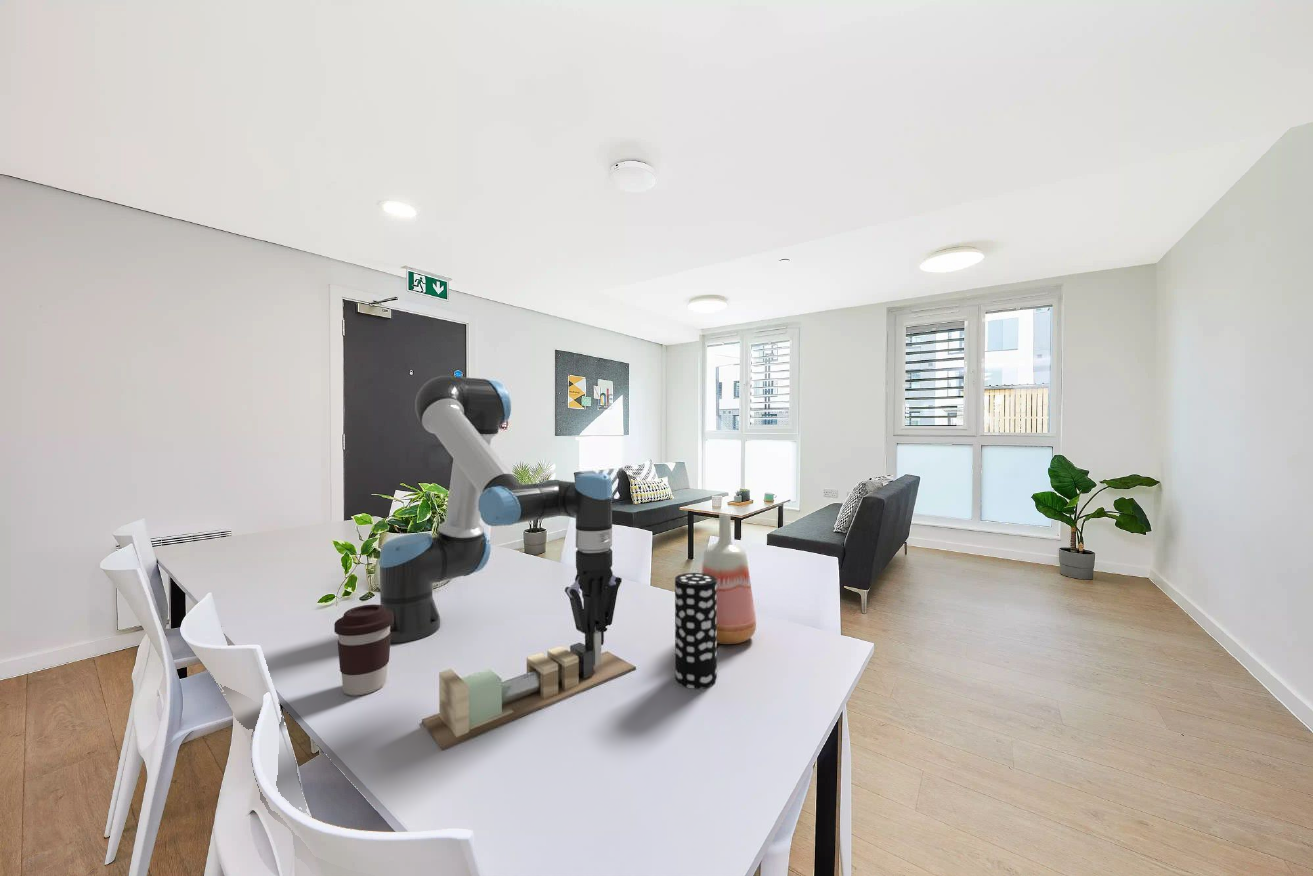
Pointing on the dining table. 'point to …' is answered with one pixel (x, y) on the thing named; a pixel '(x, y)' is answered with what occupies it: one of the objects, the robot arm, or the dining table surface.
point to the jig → (455, 698)
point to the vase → (730, 587)
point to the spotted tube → (696, 630)
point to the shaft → (532, 680)
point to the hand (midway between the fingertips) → (594, 662)
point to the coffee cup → (364, 648)
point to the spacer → (484, 695)
